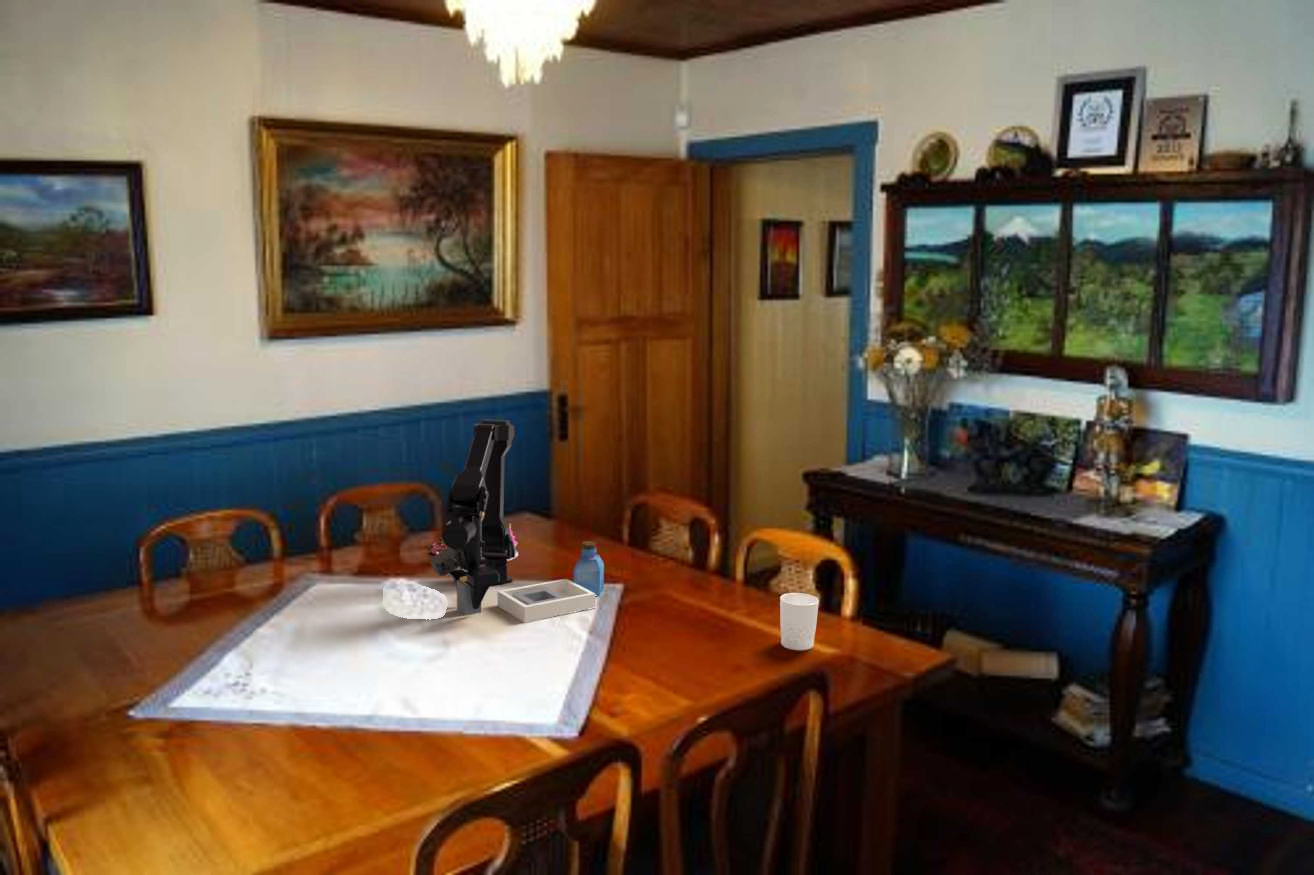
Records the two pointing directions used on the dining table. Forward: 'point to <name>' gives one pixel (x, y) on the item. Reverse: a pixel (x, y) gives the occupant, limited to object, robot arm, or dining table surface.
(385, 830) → the dining table surface
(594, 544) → the perfume bottle
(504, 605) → the box
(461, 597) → the plug
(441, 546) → the food platter
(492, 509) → the robot arm
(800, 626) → the white cup
